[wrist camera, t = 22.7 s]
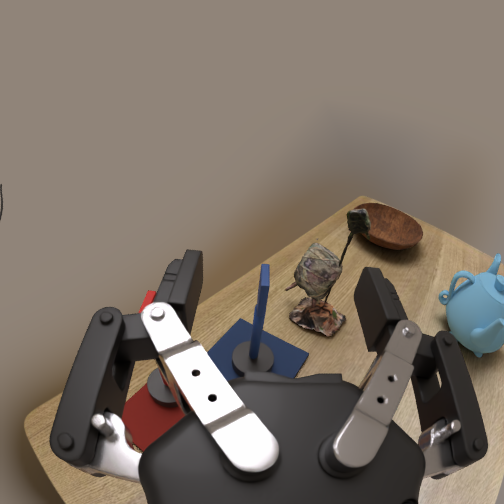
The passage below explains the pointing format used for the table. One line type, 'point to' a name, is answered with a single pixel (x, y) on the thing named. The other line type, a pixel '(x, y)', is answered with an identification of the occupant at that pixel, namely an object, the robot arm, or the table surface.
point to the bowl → (391, 227)
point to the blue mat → (284, 353)
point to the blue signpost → (255, 336)
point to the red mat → (148, 418)
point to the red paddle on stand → (158, 373)
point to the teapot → (477, 309)
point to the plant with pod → (323, 280)
